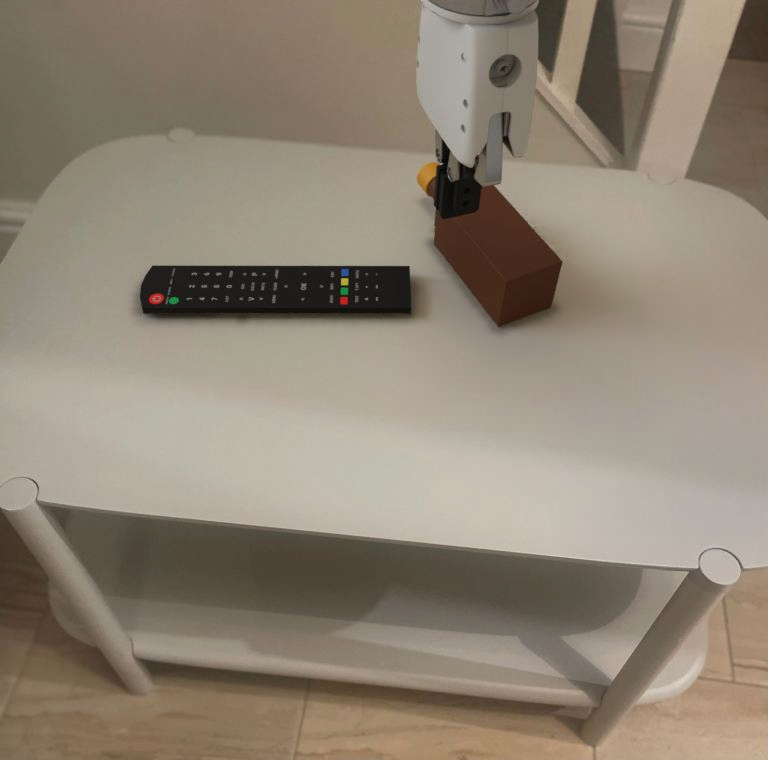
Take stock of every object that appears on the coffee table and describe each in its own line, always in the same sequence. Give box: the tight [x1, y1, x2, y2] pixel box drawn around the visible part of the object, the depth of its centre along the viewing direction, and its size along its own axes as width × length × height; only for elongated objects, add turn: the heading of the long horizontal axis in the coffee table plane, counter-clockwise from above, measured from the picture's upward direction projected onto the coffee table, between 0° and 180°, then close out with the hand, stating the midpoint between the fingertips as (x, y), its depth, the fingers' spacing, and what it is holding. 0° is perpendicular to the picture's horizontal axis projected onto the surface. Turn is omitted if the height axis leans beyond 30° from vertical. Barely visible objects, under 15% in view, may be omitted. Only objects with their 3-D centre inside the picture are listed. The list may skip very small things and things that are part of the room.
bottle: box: [416, 161, 564, 328], centre depth 73 cm, size 6×6×18 cm
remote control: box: [139, 265, 412, 315], centre depth 71 cm, size 5×24×1 cm, turn 91°
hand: (455, 209), depth 62 cm, fingers closed
